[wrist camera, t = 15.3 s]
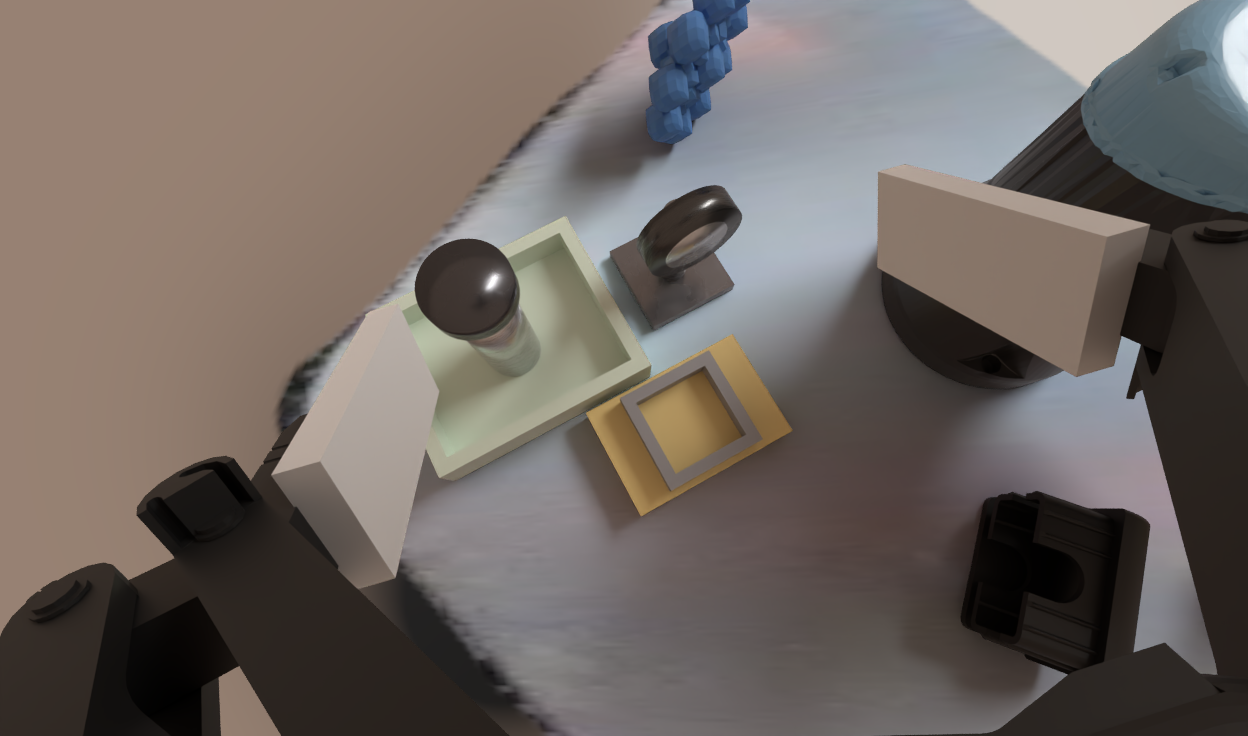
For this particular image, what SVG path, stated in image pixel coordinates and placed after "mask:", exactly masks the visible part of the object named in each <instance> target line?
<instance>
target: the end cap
mask: <svg viewBox="0 0 1248 736" xmlns="http://www.w3.org/2000/svg"><path fill="white" fill-rule="evenodd" d="M1149 531H1150V524H1149V523H1148V521H1147V520H1146V519H1144V518H1143V517H1141V516H1139V515H1137V514H1135V513H1133V512H1130V511H1128V510H1125V509H1088V508H1085V507H1082V506H1079V505H1076V504H1073V503H1070V502H1068V501H1065V500H1062V499H1059V498H1056V497H1053V496H1050V495H1047V494H1044V493H1042V492H1039V491H1035V492H1033V493H1027V494H1026V496H1023V495H1020V494H1017V493H1014V492H1011V493H1008V494H1001V495H999V496H998V497H997V498H996V497H990V498H987V499H986V500H985V502H984V505H983V510H982V515H981V520H980V525H979V530H978V535H977V539H976V544H975V549H974V554H973V559H972V564H971V569H970V574H969V579H968V584H967V588H966V593H965V598H964V603H963V608H962V613H961V622H962V624H963V625H964V626H965V627H966V628H968V629H970V630H973V631H976V632H978V633H980V634H981V635H982V637H983V638H984V639H987V640H989V641H992V642H995V643H997V644H1000V645H1003V646H1005V647H1008V648H1011V649H1013V650H1016V651H1019V652H1021V653H1024V654H1025V657H1026V658H1027V659H1029V660H1032V661H1034V662H1037V663H1039V664H1042V665H1045V666H1047V667H1050V668H1052V669H1055V670H1058V671H1060V672H1063V673H1065V674H1068V675H1069V674H1070V673H1071V672H1074V671H1077V670H1081V669H1084V668H1087V667H1090V666H1093V665H1096V664H1099V663H1103V662H1106V661H1109V660H1112V659H1115V658H1118V657H1121V656H1125V655H1128V654H1131V653H1133V651H1134V643H1135V636H1136V629H1137V621H1138V614H1139V606H1140V599H1141V591H1142V584H1143V576H1144V569H1145V561H1146V554H1147V546H1148V539H1149Z"/></svg>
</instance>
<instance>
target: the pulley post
mask: <svg viewBox="0 0 1248 736" xmlns="http://www.w3.org/2000/svg"><path fill="white" fill-rule="evenodd" d="M741 220H742V214H741V212H740V210H739V209H738V207H737V206H736V204H735V203H734V201H733V200H732V198H731V197H730V195H729V194H728V192H727V191H726V190H725V188H723V187H722V186H717V185H713V186H706V187H702V188H699V189H696V190H694V191H691V192H689V193H687V194H685V195H683V196H681V197H680V198H678V199H675V200H672V201H670V202H669V203H667V204H666V206H665V207H664V209H662V210H661V211H660V212H659V213H658V214H656V215H655V216H654V217H653V218H652V219H651V220H650V221H649V222H648V224H647V225H646V226H645V227H644V229H643V230H642V232H641V233H640V235H639V237H638V238H636V239H634V240H632V241H630V242H628V243H626V244H624V245H622V246H620V247H618V248H616V249H614V250H612V251H610V257H611V259H612V261H613V263H614V264H615V266H616V268H617V269H618V271H619V273H620V275H621V276H622V278H623V280H624V281H625V283H626V285H627V286H628V288H629V290H630V292H631V293H632V295H633V297H634V298H635V300H636V302H637V304H638V305H639V307H640V309H641V310H642V312H643V314H644V315H645V317H646V319H647V321H648V322H649V324H650V326H651V327H652V329H653V331H654V330H656V329H658V328H660V327H662V326H664V325H666V324H668V323H670V322H671V321H673V320H675V319H677V318H679V317H681V316H683V315H685V314H687V313H689V312H690V311H692V310H694V309H696V308H698V307H700V306H702V305H704V304H706V303H707V302H709V301H711V300H713V299H715V298H717V297H719V296H721V295H723V294H725V293H726V292H728V291H730V290H732V289H733V286H734V283H733V281H732V280H731V278H730V277H729V275H728V274H727V272H726V271H725V269H724V267H723V266H722V264H721V263H720V261H719V260H718V258H717V256H716V255H715V253H714V252H715V251H716V250H717V249H719V248H720V247H721V246H722V245H723V244H724V243H725V242H726V241H727V240H728V239H729V238H730V237H731V236H732V235H733V234H734V233H735V231H736V230H737V228H738V227H739V225H740V223H741Z"/></svg>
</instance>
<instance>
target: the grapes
mask: <svg viewBox="0 0 1248 736" xmlns="http://www.w3.org/2000/svg"><path fill="white" fill-rule="evenodd" d="M749 2H750V0H693V8H694V10H693V11H690V12H688V13H685V14H682V15H681V16H680V17H678V18H677V19H676V20H675V21H670V22H668V23H665V24H662V25H661V26H659V27H658V28H657V29H656V30H654V31H653V32H652V33H651V34H650V35H649V36H648V42H649V51H650V57H651V61H652V63H653V65H654V67H655V68H657V69H659V70H657V71H656V72H655V73H653V74H652V75H651V76H650V77H649V90H650V97H651V102H652V106H650V107H649V108H648V109H646V122H647V128H648V134H649V135H650V137H651V138H652V140H654V141H658V142H665V143H669V144H674V143H677V142H679V141H681V140H683V139H684V138H686V137H687V136H689V135H690V134H692V122H691V121H692V120H695V119H697V118H699V117H701V116H702V115H704V114H705V113H707V112H708V111H710V110H711V100H710V92H709V88H710V87H711V86H713V85H714V84H716V83H717V82H719V81H720V80H722V79H723V78H724V77H725V75H726V74H727V73H728V72H730V71H731V70H732V58H731V50H730V46H729V44H728V42H727V41H728V40H730V39H733V38H734V37H736V36H737V35H739V34H740V33H741V32H743V31H744V30H745V29H747V28H748V18H747V7H746V4H748V3H749Z"/></svg>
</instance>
